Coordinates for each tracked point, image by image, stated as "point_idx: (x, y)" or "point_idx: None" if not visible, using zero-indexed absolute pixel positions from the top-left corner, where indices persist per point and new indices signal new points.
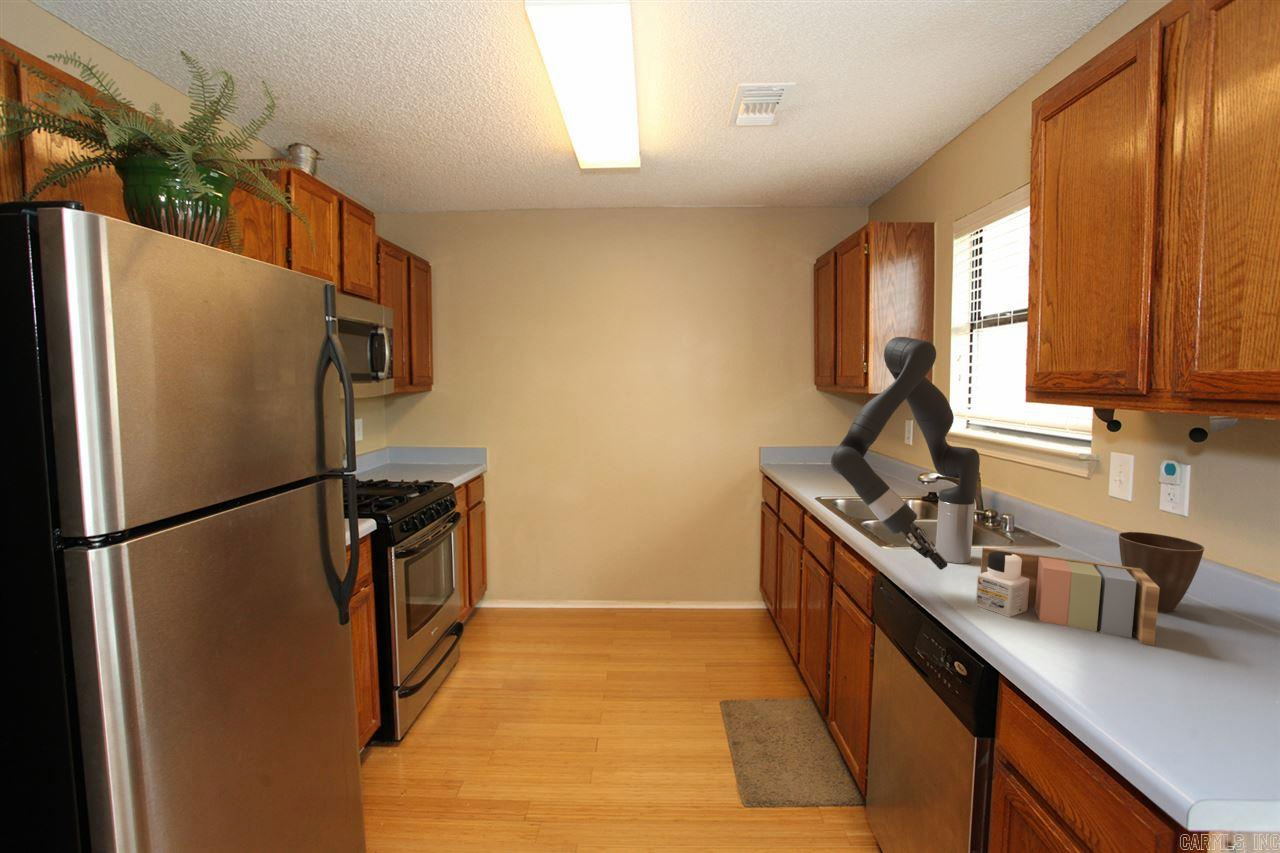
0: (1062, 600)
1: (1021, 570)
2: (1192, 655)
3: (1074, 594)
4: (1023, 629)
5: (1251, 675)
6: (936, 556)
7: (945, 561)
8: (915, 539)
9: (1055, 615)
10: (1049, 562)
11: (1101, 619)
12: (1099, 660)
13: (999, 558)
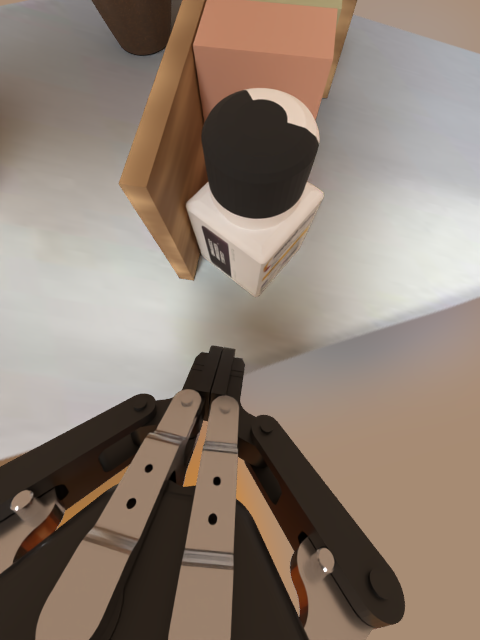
0: None
1: (193, 142)
2: (339, 60)
3: None
4: (353, 238)
5: (374, 31)
6: (239, 396)
7: (222, 354)
8: (347, 632)
9: None
10: (253, 33)
11: None
12: (432, 165)
13: (311, 153)
